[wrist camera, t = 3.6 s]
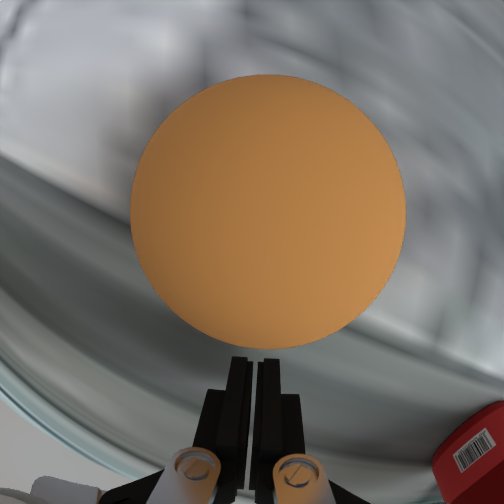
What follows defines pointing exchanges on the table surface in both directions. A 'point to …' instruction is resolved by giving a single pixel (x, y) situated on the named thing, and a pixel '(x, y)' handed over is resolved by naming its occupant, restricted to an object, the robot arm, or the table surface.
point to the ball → (267, 211)
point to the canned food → (473, 460)
